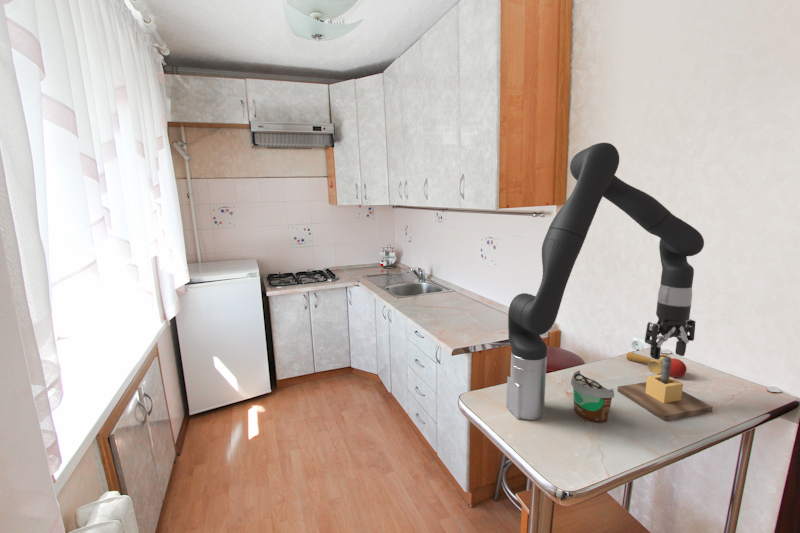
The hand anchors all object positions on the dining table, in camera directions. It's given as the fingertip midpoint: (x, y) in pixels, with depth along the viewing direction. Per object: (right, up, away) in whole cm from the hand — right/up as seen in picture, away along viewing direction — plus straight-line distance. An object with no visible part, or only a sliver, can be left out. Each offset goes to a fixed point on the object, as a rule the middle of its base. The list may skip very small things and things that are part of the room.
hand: (667, 356), depth 108 cm
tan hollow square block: (0, -12, +2) cm, 12 cm away
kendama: (+11, -10, +22) cm, 27 cm away
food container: (-25, -15, -3) cm, 29 cm away
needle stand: (0, -13, +3) cm, 14 cm away
